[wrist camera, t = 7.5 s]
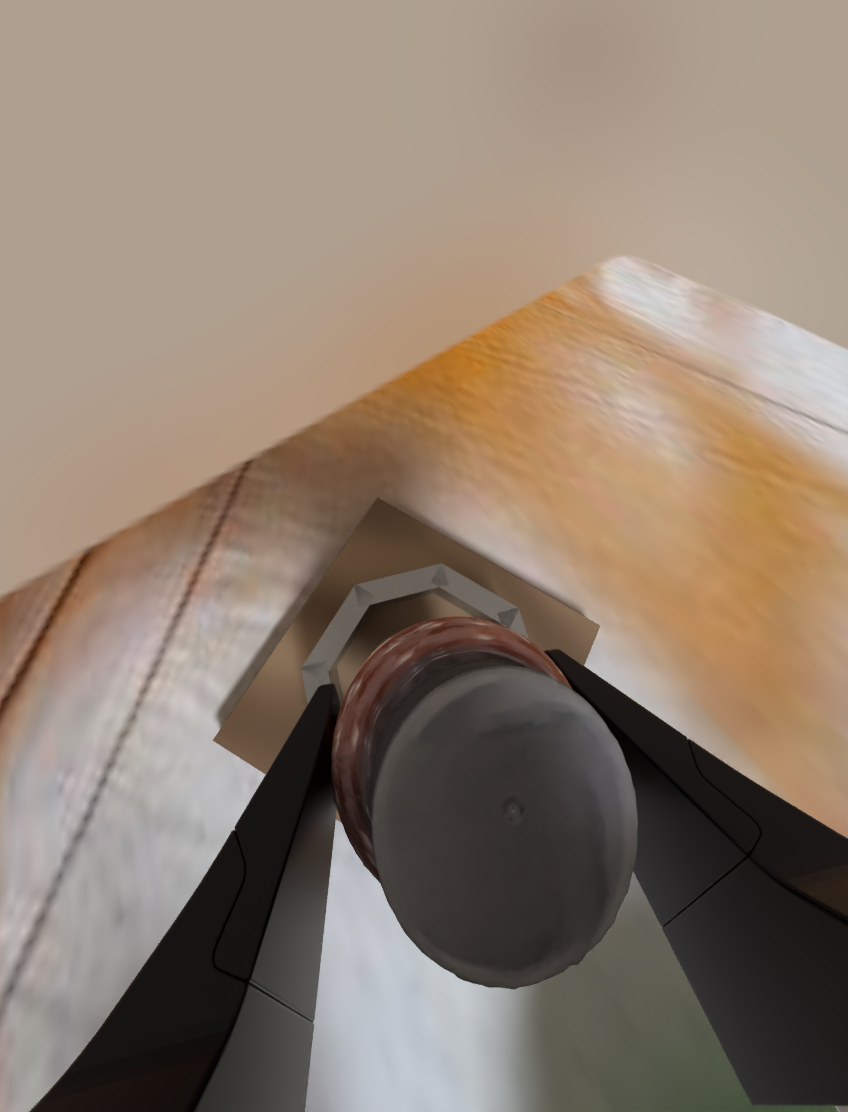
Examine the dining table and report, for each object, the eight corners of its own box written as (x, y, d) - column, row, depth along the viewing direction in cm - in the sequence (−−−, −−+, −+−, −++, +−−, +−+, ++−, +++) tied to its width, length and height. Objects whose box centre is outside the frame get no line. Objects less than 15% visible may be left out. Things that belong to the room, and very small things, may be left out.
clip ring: (463, 839, 17) (475, 872, 14) (276, 721, 17) (257, 735, 15) (552, 639, 20) (574, 639, 17) (389, 544, 20) (388, 531, 18)
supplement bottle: (337, 661, 15) (225, 705, 5) (449, 606, 17) (572, 539, 6) (390, 790, 14) (409, 1258, 3) (505, 721, 16) (787, 906, 5)
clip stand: (477, 896, 17) (482, 912, 16) (222, 734, 18) (212, 740, 17) (591, 626, 21) (600, 625, 20) (378, 503, 22) (377, 497, 21)
